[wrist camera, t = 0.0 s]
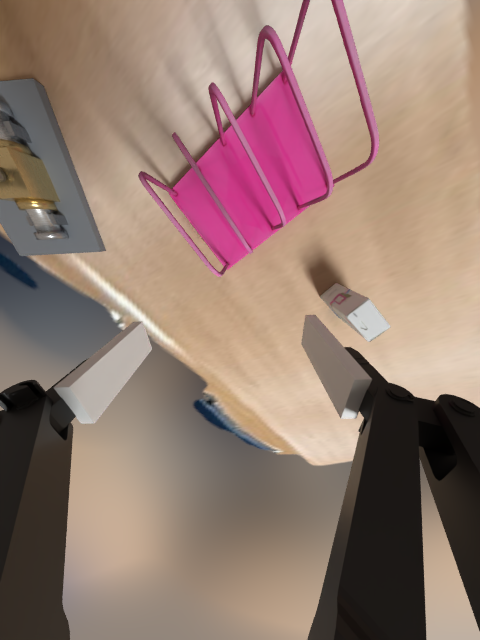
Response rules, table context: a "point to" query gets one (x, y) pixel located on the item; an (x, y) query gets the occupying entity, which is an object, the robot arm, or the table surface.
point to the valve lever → (2, 176)
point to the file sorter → (261, 159)
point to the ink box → (355, 311)
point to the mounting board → (49, 147)
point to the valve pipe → (27, 180)
